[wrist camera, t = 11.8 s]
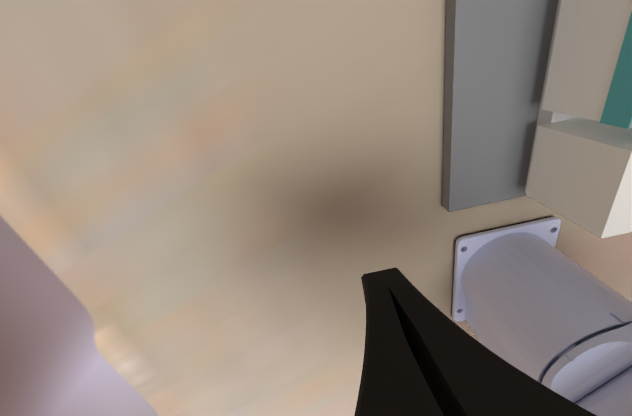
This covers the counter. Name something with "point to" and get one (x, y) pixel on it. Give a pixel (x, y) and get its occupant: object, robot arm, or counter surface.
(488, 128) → the mounting plate
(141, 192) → the counter surface
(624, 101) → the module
